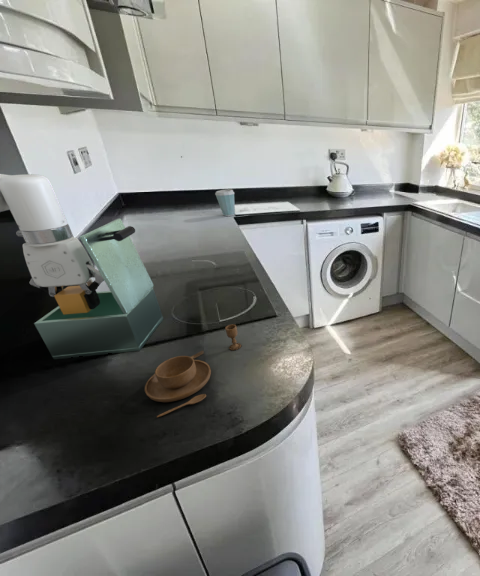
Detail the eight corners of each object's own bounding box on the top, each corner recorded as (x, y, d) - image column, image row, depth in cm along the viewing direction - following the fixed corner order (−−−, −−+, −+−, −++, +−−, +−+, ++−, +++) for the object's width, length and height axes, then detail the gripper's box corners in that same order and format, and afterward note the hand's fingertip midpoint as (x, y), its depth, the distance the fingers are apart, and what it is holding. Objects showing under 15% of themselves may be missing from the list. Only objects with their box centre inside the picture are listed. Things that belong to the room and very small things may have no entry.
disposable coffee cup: (224, 218, 193) (219, 192, 187) (216, 215, 200) (211, 190, 193) (241, 215, 201) (237, 190, 194) (232, 212, 207) (228, 188, 200)
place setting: (144, 371, 72) (136, 350, 69) (239, 341, 82) (234, 321, 80) (150, 424, 59) (139, 400, 56) (260, 380, 70) (256, 358, 67)
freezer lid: (79, 236, 65) (106, 232, 66) (117, 218, 78) (139, 215, 79) (123, 314, 74) (147, 310, 74) (151, 286, 87) (170, 283, 87)
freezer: (53, 359, 75) (33, 323, 70) (91, 325, 88) (76, 293, 83) (139, 350, 78) (126, 315, 74) (163, 319, 91) (153, 287, 87)
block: (63, 314, 76) (53, 295, 73) (76, 304, 80) (68, 286, 78) (87, 312, 76) (79, 294, 74) (99, 302, 81) (92, 284, 79)
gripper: (-15, 242, 65) (28, 319, 73) (83, 238, 68) (113, 312, 76) (15, 231, 72) (51, 303, 80) (103, 228, 75) (129, 297, 83)
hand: (81, 306), depth 78 cm, fingers closed on block, 5 cm apart
